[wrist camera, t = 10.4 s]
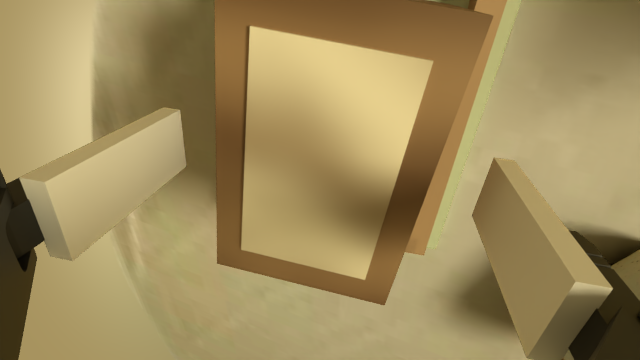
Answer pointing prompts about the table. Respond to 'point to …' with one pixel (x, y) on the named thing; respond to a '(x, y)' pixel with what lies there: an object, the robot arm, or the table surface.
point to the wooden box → (333, 132)
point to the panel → (463, 122)
